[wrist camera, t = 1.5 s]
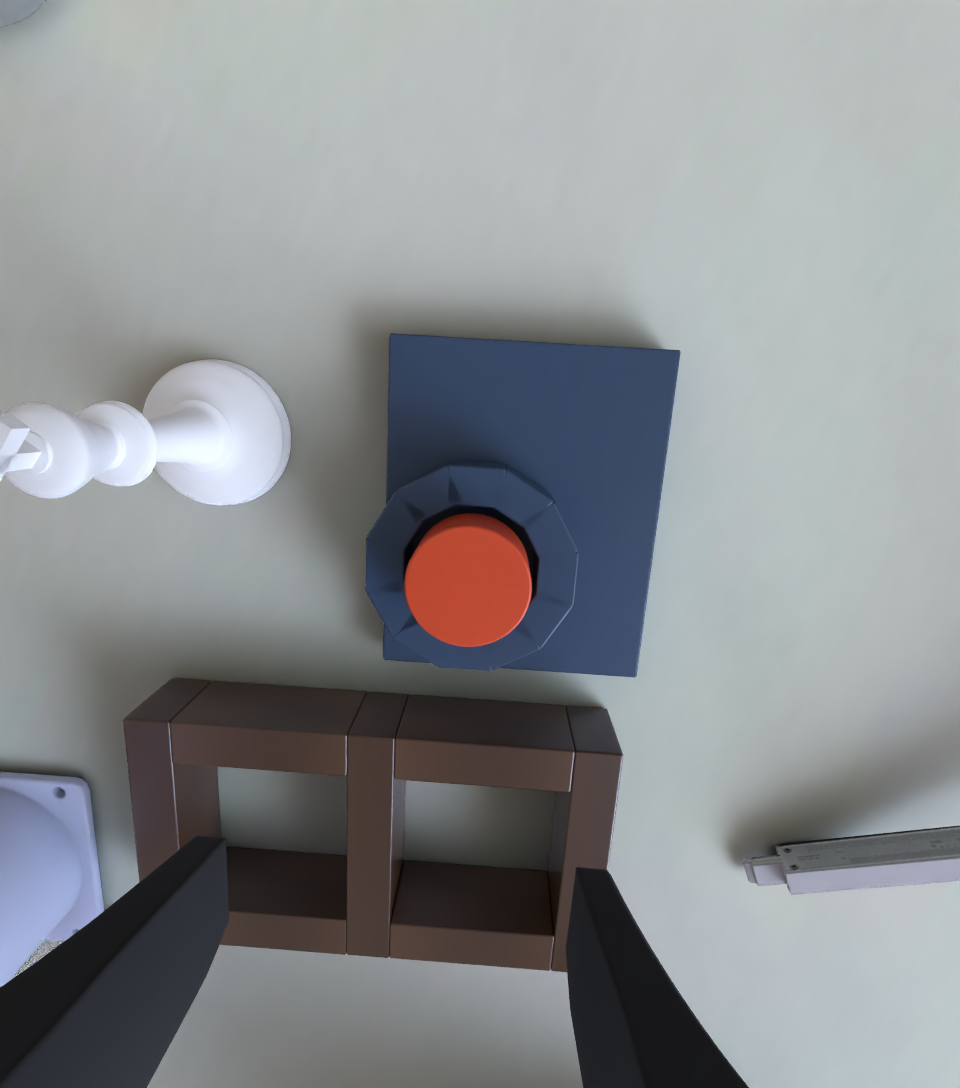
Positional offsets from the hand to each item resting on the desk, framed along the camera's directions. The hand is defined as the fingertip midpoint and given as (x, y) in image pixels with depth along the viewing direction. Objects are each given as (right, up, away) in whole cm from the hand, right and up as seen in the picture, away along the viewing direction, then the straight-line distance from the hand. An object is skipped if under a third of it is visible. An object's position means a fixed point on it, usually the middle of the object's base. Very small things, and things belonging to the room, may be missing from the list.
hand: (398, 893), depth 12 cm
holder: (-2, -3, +11) cm, 12 cm away
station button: (+1, +6, +6) cm, 9 cm away
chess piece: (-7, +11, +8) cm, 16 cm away
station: (+3, +8, +8) cm, 12 cm away
